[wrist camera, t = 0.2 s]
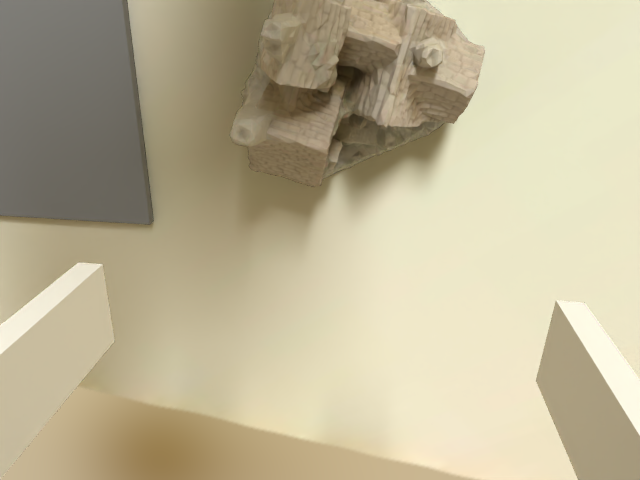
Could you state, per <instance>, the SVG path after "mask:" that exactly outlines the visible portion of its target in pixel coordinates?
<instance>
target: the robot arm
mask: <svg viewBox="0 0 640 480" xmlns="http://www.w3.org/2000/svg"><path fill="white" fill-rule="evenodd" d="M114 342H115V339H114V332H113V326H112V320H111V313H110V307H109V301H108V294H107V288H106V282H105V275H104V269H103V264H94V263H81V262H78V263H77V264H76V265H74V266H73V267H72V268H71V269H69V270H68V271H67V272H66V273H65V274H63V275H62V276H61V277H60V278H58V279H57V280H56V281H55V282H53V283H52V284H51V285H50V286H48V287H47V288H46V289H45V290H43V291H42V292H41V293H40V294H38V295H37V296H36V297H35V298H33V299H32V300H31V301H30V302H28V303H27V304H26V305H25V306H24V307H22V308H21V309H20V310H19V311H17V312H16V313H15V314H14V315H12V316H11V317H10V318H9V319H7V320H6V321H5V322H4V323H2V324H1V325H0V479H1V478H2V477H3V476H4V475H5V473H6V472H7V471H8V470H9V469H10V467H11V466H12V465H13V464H14V463H15V461H16V460H17V459H18V458H19V456H20V455H21V454H22V453H23V452H24V450H25V449H26V448H27V447H28V446H29V444H30V443H31V442H32V441H33V440H34V438H35V437H36V436H37V435H38V434H39V432H40V431H41V430H42V429H43V427H44V426H45V425H46V424H47V423H48V421H49V420H50V419H51V418H52V416H53V415H54V414H55V413H56V412H57V411H58V409H59V408H60V407H61V406H62V404H63V403H64V402H65V401H66V400H67V398H68V397H69V396H70V395H71V394H72V392H73V391H74V390H75V389H76V388H77V386H78V385H79V384H80V383H81V381H82V380H83V379H84V378H85V377H86V375H87V374H88V373H89V372H90V371H91V369H92V368H93V367H94V366H95V365H96V363H97V362H98V361H99V360H100V358H101V357H102V356H103V355H104V354H105V352H106V351H107V350H108V349H109V348H110V346H111V345H112V344H113V343H114ZM536 382H537V384H538V386H539V389H540V391H541V393H542V396H543V398H544V401H545V403H546V405H547V408H548V410H549V412H550V415H551V417H552V419H553V422H554V424H555V426H556V429H557V431H558V433H559V436H560V438H561V440H562V443H563V445H564V447H565V450H566V452H567V454H568V457H569V459H570V462H571V464H572V466H573V469H574V471H575V473H576V476H577V478H578V480H640V379H639V378H638V376H637V375H636V374H635V372H634V371H633V369H632V368H631V367H630V365H629V364H628V362H627V361H626V360H625V358H624V357H623V355H622V354H621V353H620V351H619V350H618V348H617V347H616V346H615V344H614V343H613V341H612V340H611V339H610V337H609V336H608V334H607V333H606V332H605V330H604V329H603V327H602V326H601V325H600V323H599V322H598V320H597V319H596V318H595V316H594V315H593V313H592V312H591V311H590V309H589V308H588V306H587V305H586V304H585V303H582V302H570V301H557V300H556V302H555V306H554V310H553V314H552V318H551V322H550V326H549V330H548V334H547V338H546V342H545V346H544V350H543V354H542V358H541V362H540V366H539V370H538V374H537V378H536Z"/></svg>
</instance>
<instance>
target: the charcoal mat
mask: <svg viewBox="0 0 640 480" xmlns="http://www.w3.org/2000/svg"><path fill="white" fill-rule="evenodd" d="M0 215H1V216H18V217H34V218H51V219H67V220H84V221H100V222H117V223H133V224H151V223H152V222H153V221H154V220H153V212H152V204H151V196H150V187H149V179H148V171H147V163H146V154H145V146H144V138H143V129H142V121H141V113H140V105H139V96H138V88H137V80H136V72H135V63H134V55H133V47H132V39H131V30H130V22H129V14H128V5H127V0H0Z"/></svg>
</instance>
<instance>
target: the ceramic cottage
mask: <svg viewBox="0 0 640 480" xmlns="http://www.w3.org/2000/svg"><path fill="white" fill-rule="evenodd" d="M484 53H485V49H484V47H483V46H479V45H475V44H473V43H471V42H469V41H468V40H467V38H466V37H465V36H464V34H463V33H462V32H461V31H460V29H459V28H458V27H457V25H456V22H455V20H453V19H451V18H448V17H445V16H444V15H442V14H441V13H440V12H439V11H438V10H437V9H435V8H434V7H433V6H431V4H430V3H429V2H427V1H426V0H274V3H273V9H272V12H271V13H270V15H269V16H268V19H265V21H264V24H263V28H262V31H261V37H260V39H259V45H258V54H257V57H256V63H255V66H254V68H253V71H252V73H251V75H250V76H249V78H248V79H247V81H246V82H245V85H246V88H245V89H244V90H243V91H241V95H242V97H243V103H242V107H241V108H240V109H239V110H238V111H237V113H236V117H235V119H234V122H233V125H232V129H231V132H230V135H229V136H230V137H231V139H232V141H233V142H234V143H235V144H237V145H241V146H248V158H249V160H250V165H249V167H250V169H251V170H254V171H257V172H258V171H262V172H264V173H268V174H272V175H277V176H281V177H285V178H288V179H290V180H293V181H296V182H298V183H303V184H306V185H309V186H312V187H314V186H319V185H321V183H322V179H324V178H326V177H328V176H331V175H332V174H334V173H336V172H338V171H340V170H343V169H346V168H349V167H352V166H353V165H355V164H357V163H359V162H361V161H364V160H366V159H368V158H371V157H373V156H374V155H380V154H382V153H383V152H385V151H391V150H392V149H394V148H395V147H398V146H401V145H404V144H406V143H408V142H409V141H414V140H416V139H418V138H420V137H423V136H426V135H429V134H430V133H431V132H433V131H434V130H436V129H437V128H439V127H440V126H441V125H442V124H443V123H444V122H449V123H453V124H454V122H455V121H456V120H457V118H458V116H459V115H461V114H462V113H463V112H464V110H465V109H466V107H467V106H468V104H469V102H470V100H471V98H472V96H473V94H474V92H475V90H476V88H477V85H478V77H479V73H480V70H481V66H482V61H483V57H484Z"/></svg>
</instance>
